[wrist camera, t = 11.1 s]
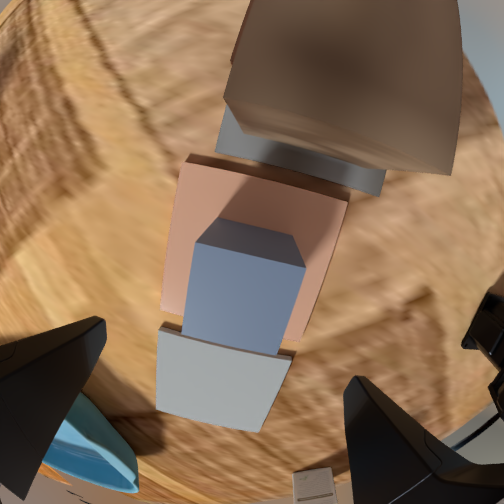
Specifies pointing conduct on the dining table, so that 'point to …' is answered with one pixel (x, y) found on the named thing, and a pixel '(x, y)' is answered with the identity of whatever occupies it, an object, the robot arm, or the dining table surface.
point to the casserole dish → (93, 449)
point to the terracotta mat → (256, 214)
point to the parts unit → (346, 88)
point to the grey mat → (216, 381)
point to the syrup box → (314, 487)
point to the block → (242, 286)
